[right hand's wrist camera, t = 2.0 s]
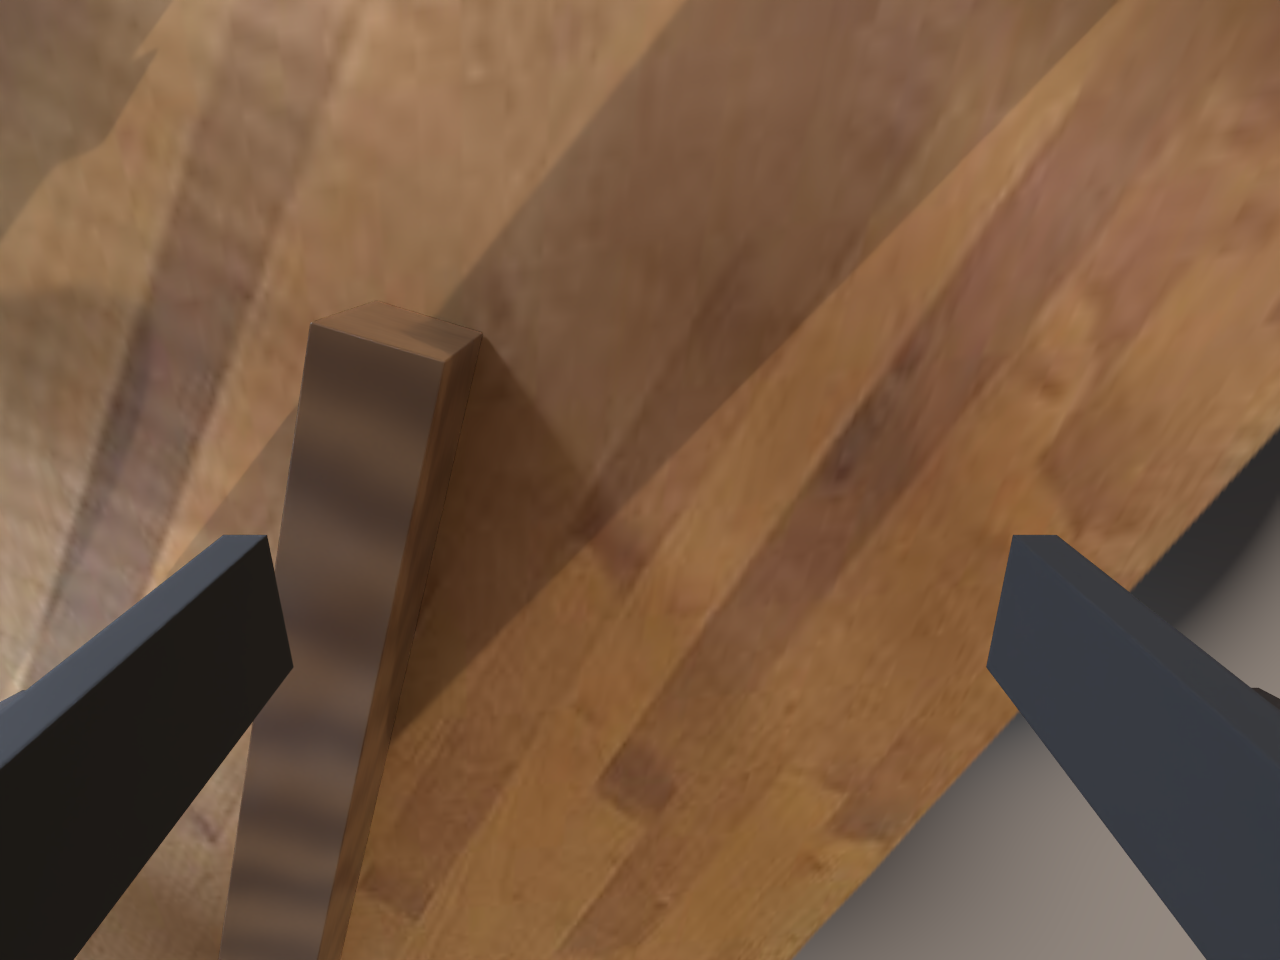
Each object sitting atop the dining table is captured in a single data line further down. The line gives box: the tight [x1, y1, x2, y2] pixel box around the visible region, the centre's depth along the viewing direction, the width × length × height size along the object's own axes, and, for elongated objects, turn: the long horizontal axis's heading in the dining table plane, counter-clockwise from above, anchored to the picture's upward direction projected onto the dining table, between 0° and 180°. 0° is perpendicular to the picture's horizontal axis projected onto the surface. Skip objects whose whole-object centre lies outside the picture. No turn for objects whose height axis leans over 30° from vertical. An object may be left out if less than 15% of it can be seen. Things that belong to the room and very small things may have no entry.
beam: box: [219, 301, 483, 960], centre depth 42 cm, size 52×6×8 cm, turn 163°
